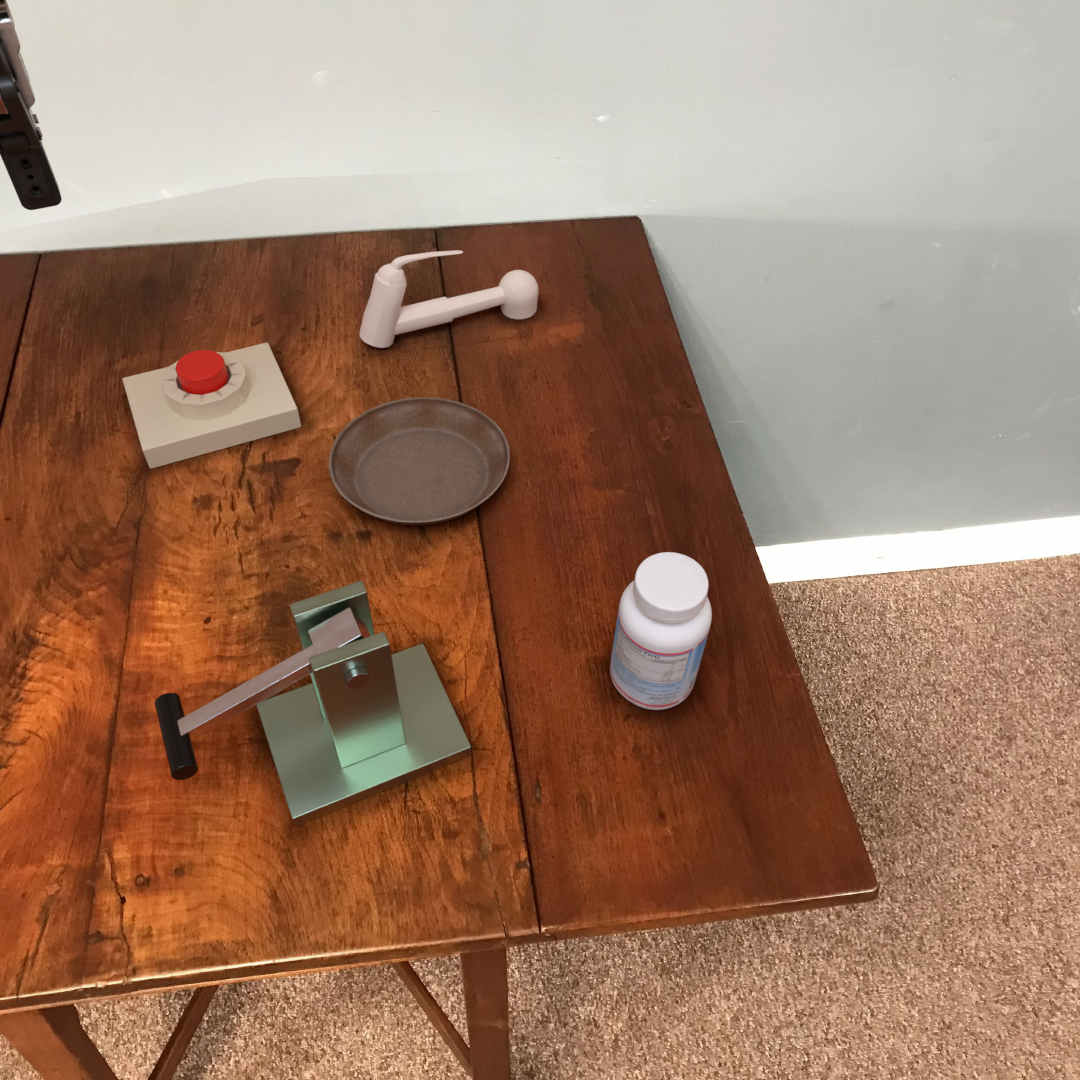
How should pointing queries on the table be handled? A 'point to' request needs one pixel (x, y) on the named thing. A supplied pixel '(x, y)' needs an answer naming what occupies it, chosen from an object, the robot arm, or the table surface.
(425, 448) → the saucer
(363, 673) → the bracket
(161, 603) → the table surface
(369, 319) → the faucet
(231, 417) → the button box
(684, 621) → the pill bottle
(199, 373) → the button
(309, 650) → the tap handle
